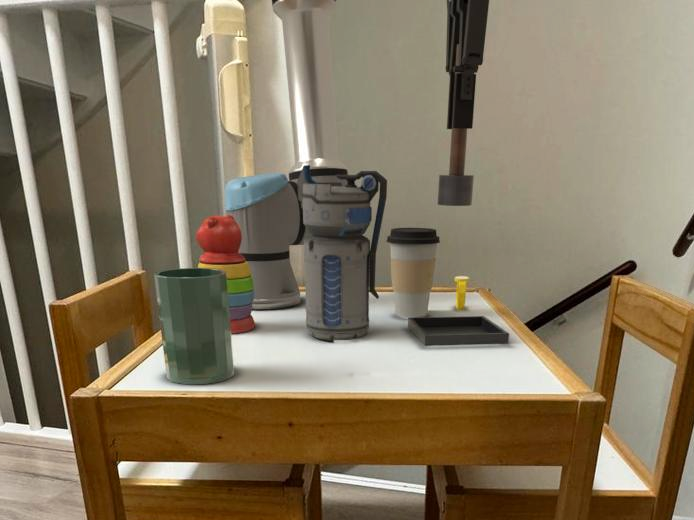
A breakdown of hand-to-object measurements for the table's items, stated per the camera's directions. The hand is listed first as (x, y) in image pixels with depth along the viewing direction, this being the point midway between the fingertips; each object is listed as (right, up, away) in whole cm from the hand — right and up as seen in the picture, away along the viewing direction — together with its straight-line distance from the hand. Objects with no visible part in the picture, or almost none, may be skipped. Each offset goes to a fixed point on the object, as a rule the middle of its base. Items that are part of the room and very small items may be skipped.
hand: (459, 128), depth 94 cm
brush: (0, -9, +4) cm, 10 cm away
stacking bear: (-37, -24, +19) cm, 48 cm away
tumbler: (-35, -36, -6) cm, 51 cm away
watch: (+5, -17, +35) cm, 39 cm away
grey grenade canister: (-17, -26, +14) cm, 34 cm away
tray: (+1, -27, +14) cm, 30 cm away
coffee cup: (-5, -20, +28) cm, 35 cm away
